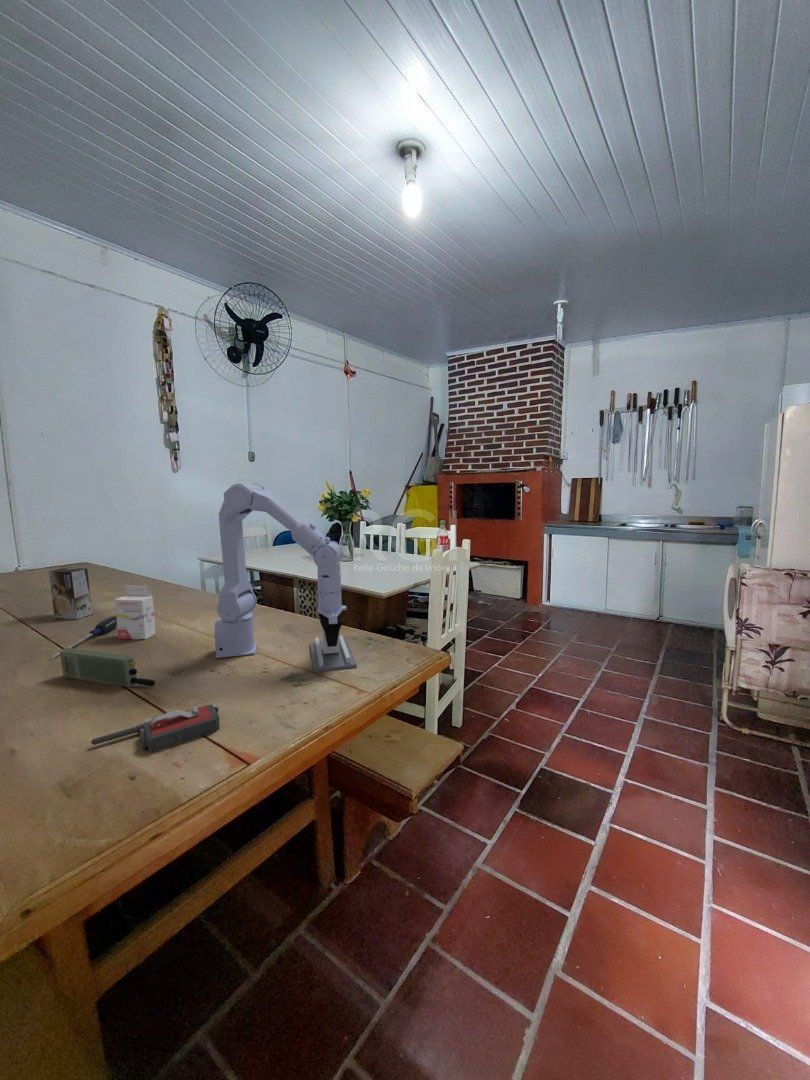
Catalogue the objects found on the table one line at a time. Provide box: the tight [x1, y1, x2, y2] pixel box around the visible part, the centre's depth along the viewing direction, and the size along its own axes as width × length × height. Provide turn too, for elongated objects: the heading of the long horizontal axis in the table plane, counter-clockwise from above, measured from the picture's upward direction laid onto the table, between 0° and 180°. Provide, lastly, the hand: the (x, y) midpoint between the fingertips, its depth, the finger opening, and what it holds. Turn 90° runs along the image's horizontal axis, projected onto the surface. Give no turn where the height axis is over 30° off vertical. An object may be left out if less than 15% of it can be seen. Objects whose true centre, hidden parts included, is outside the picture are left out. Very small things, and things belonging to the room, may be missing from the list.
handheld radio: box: [59, 647, 156, 688], centre depth 100 cm, size 7×3×25 cm
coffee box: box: [48, 567, 93, 620], centre depth 148 cm, size 9×6×16 cm
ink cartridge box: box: [114, 584, 157, 640], centre depth 128 cm, size 9×5×15 cm, turn 84°
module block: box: [321, 626, 340, 654], centre depth 113 cm, size 4×4×6 cm
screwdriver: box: [49, 615, 117, 661], centre depth 125 cm, size 26×4×4 cm, turn 179°
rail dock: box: [309, 634, 358, 673], centre depth 114 cm, size 10×18×2 cm, turn 15°
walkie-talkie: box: [90, 703, 221, 753], centre depth 78 cm, size 9×4×20 cm
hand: (331, 642), depth 114 cm, fingers closed on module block, 4 cm apart
